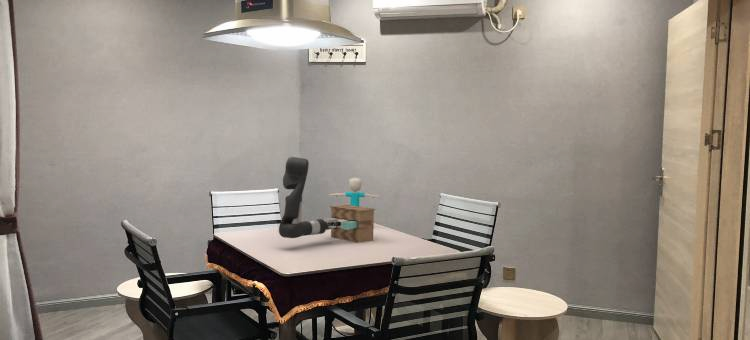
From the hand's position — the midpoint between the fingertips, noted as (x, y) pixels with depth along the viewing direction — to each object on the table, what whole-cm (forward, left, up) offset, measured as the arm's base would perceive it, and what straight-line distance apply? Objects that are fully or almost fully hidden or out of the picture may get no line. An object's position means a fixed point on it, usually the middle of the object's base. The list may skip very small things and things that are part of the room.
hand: (339, 223), depth 345 cm
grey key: (-5, +5, -2) cm, 7 cm away
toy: (-4, +42, -9) cm, 43 cm away
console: (+4, +8, -9) cm, 13 cm away
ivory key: (+2, +4, -2) cm, 5 cm away
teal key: (+7, -2, -2) cm, 7 cm away
